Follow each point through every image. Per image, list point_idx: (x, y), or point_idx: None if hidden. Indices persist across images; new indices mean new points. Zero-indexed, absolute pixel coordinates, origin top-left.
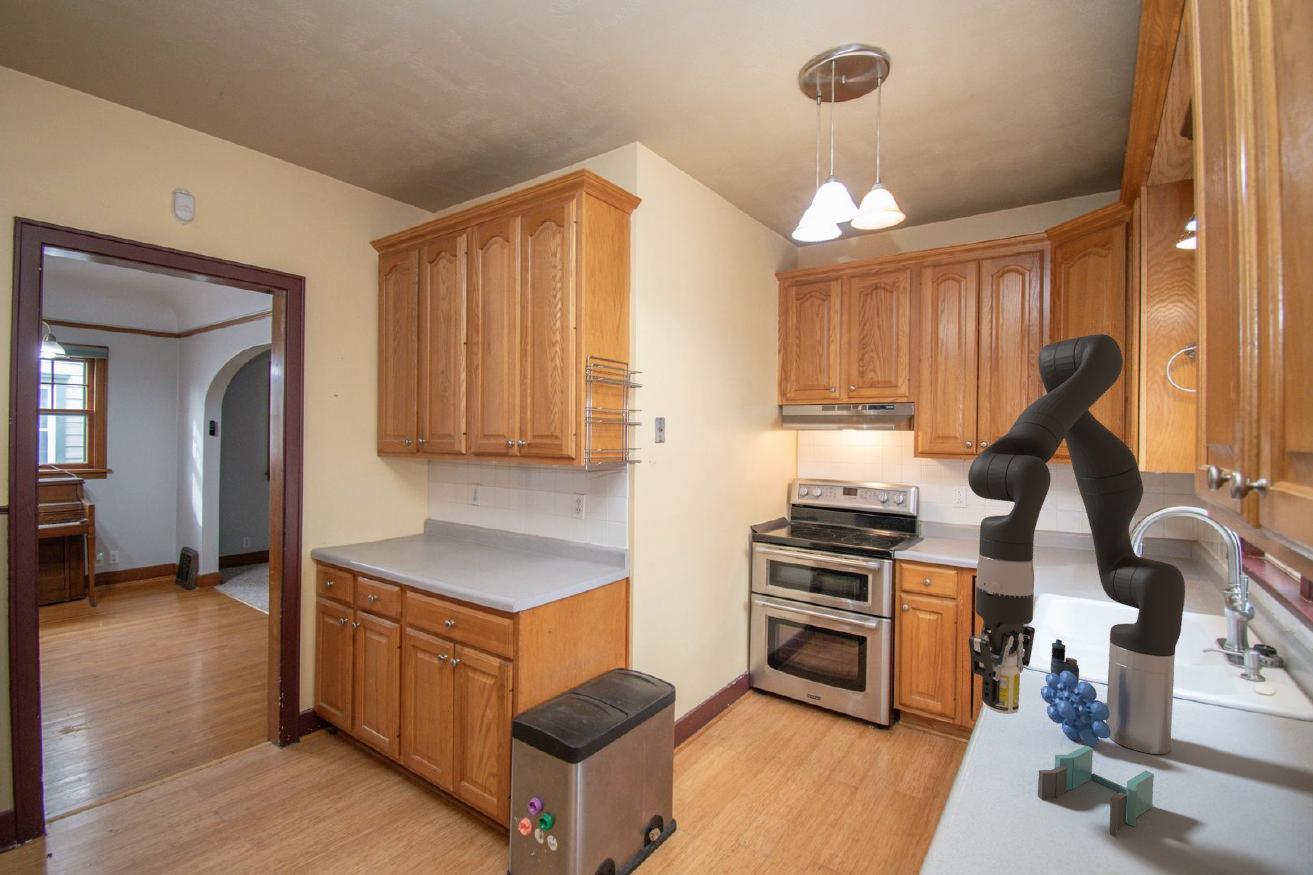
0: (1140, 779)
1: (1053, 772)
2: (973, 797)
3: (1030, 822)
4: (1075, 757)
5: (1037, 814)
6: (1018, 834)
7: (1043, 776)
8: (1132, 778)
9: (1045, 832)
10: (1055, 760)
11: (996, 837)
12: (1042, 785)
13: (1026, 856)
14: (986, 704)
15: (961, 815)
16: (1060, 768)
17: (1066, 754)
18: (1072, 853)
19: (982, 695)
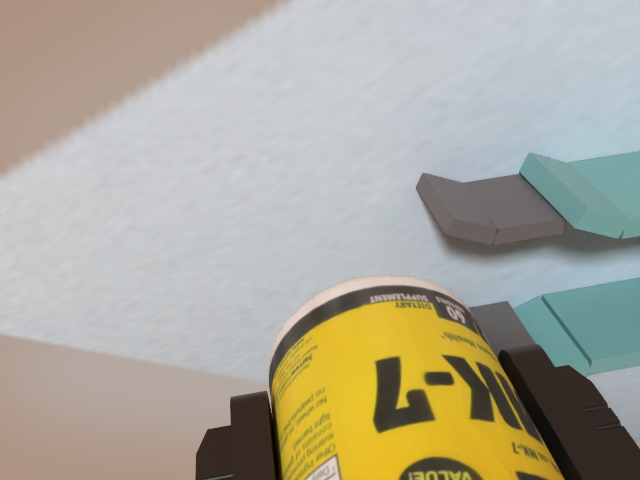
0: (634, 362)
1: (483, 241)
2: (199, 105)
3: (266, 250)
4: (631, 235)
5: (325, 231)
6: (179, 275)
7: (442, 229)
8: (622, 355)
9: (265, 287)
10: (574, 199)
11: (99, 268)
12: (431, 210)
13: (120, 333)
14: (273, 358)
15: (66, 166)
16: (535, 231)
17: (627, 216)
18: (251, 350)
19: (200, 450)
